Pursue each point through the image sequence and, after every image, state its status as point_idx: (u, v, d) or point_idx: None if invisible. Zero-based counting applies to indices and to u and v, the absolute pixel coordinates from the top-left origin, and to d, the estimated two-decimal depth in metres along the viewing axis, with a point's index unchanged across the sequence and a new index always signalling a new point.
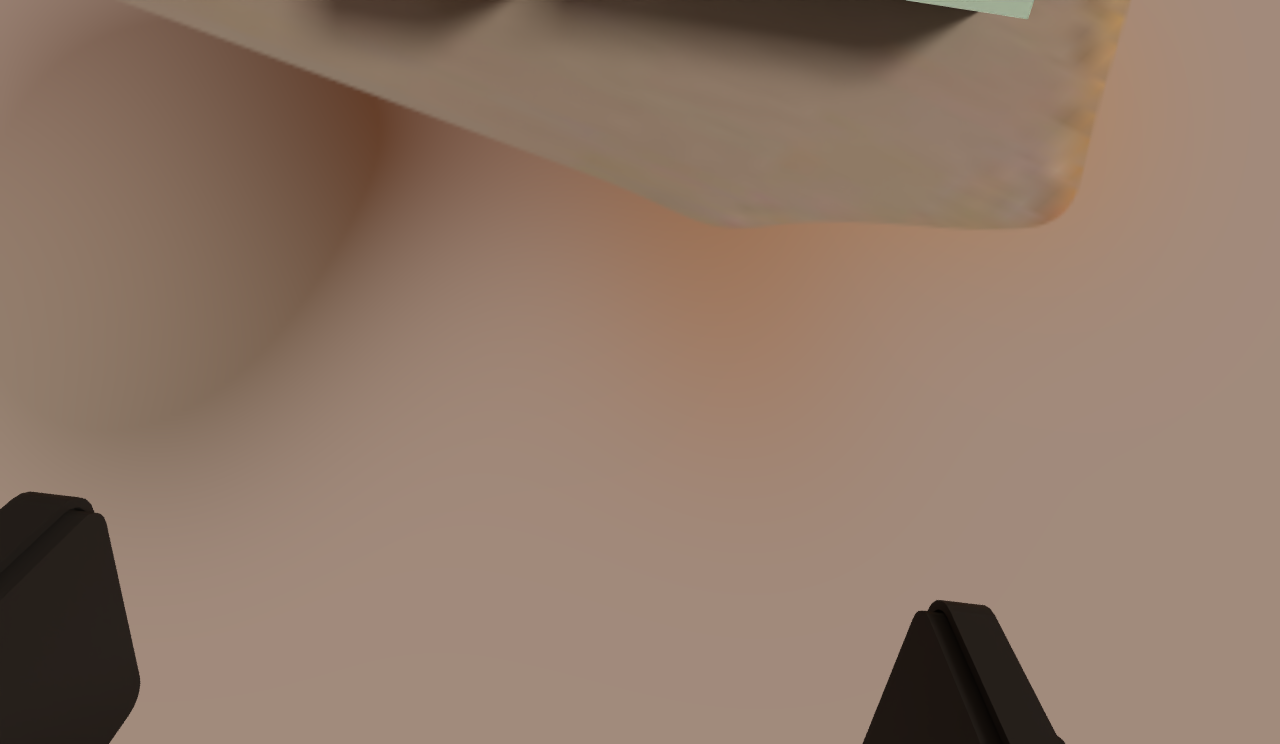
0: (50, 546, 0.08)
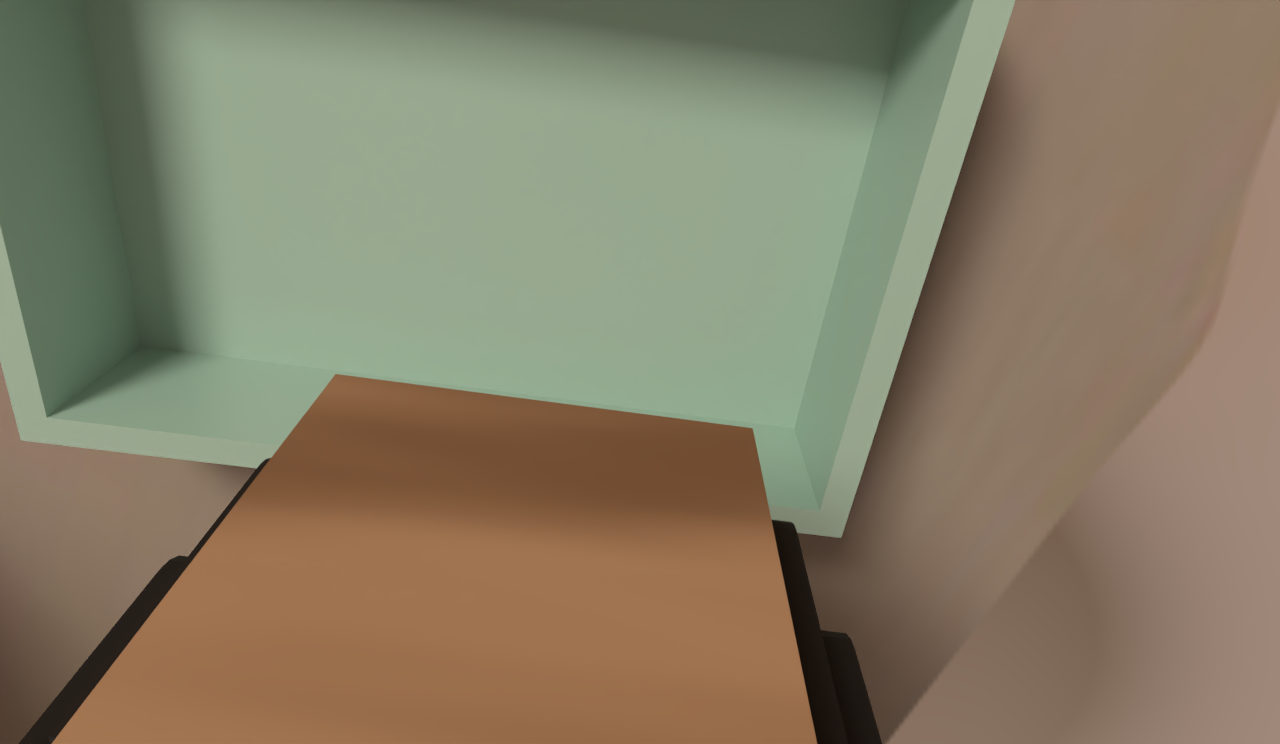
0: None
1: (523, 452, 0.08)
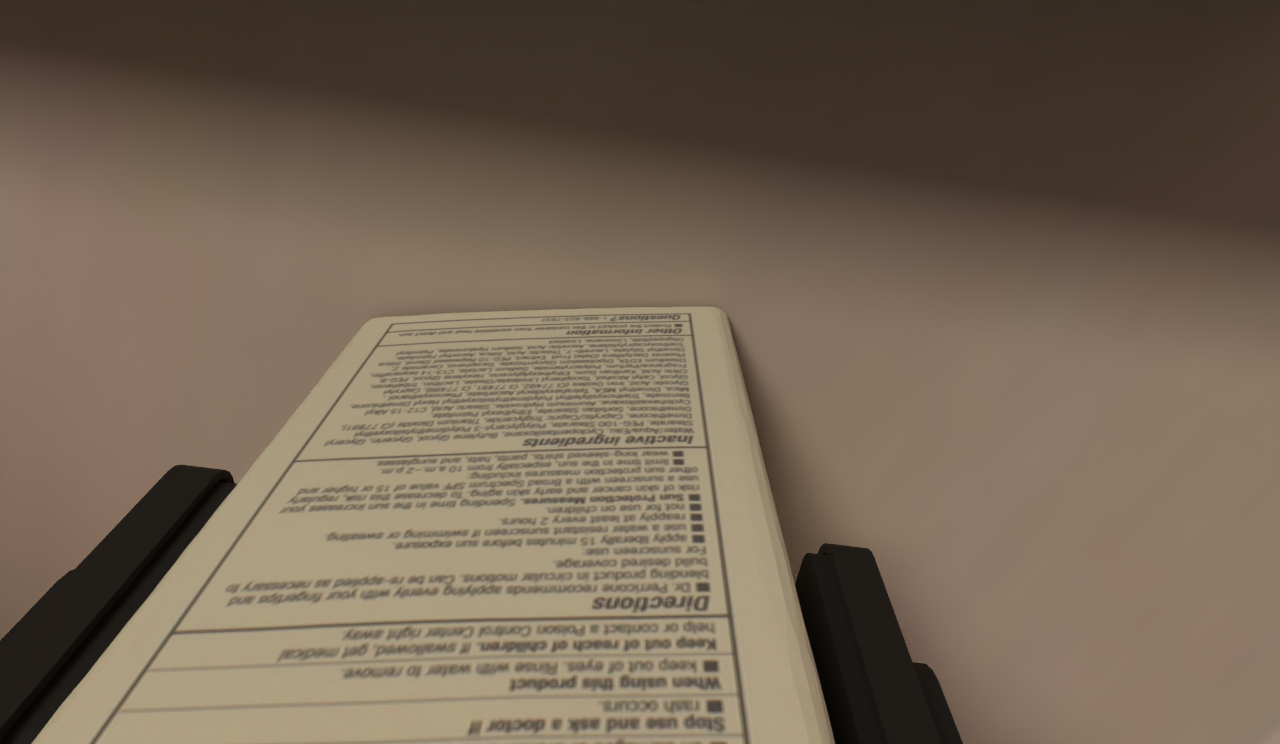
0: (209, 513, 0.08)
1: None
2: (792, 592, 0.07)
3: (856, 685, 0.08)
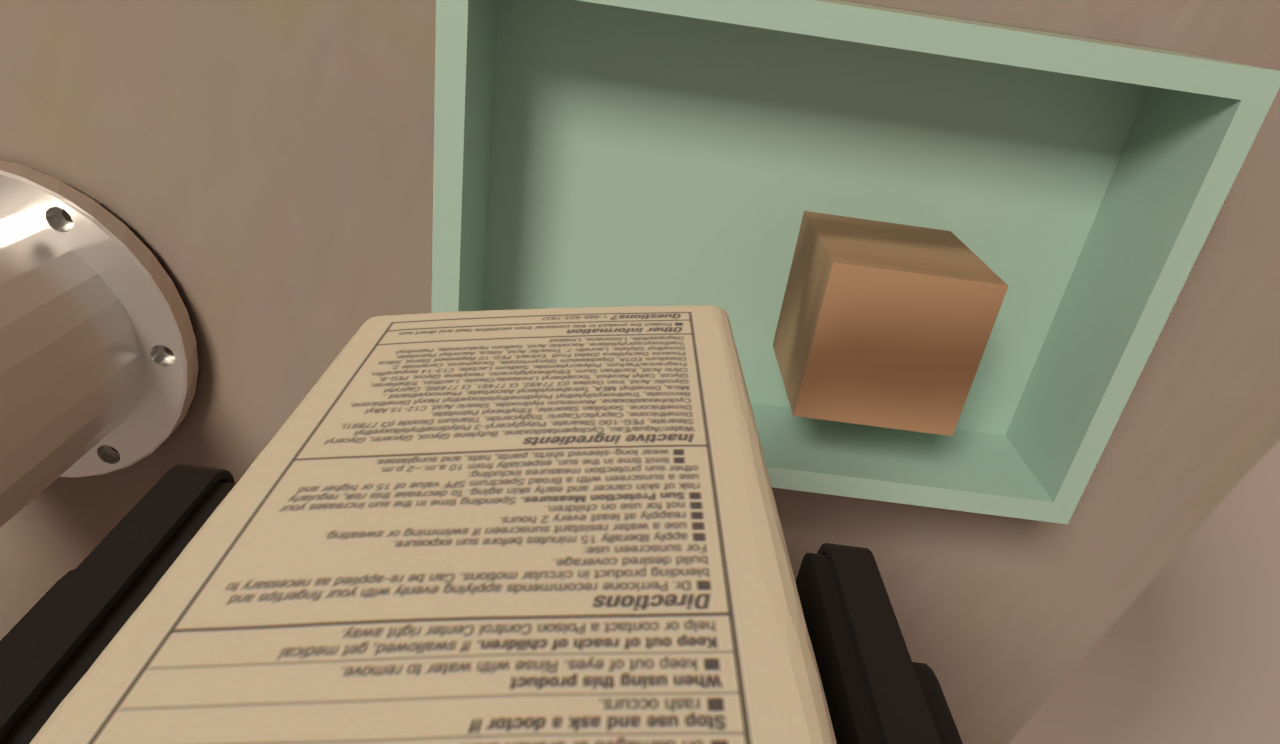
0: (209, 513, 0.08)
1: (882, 230, 0.26)
2: (793, 591, 0.07)
3: (856, 685, 0.08)
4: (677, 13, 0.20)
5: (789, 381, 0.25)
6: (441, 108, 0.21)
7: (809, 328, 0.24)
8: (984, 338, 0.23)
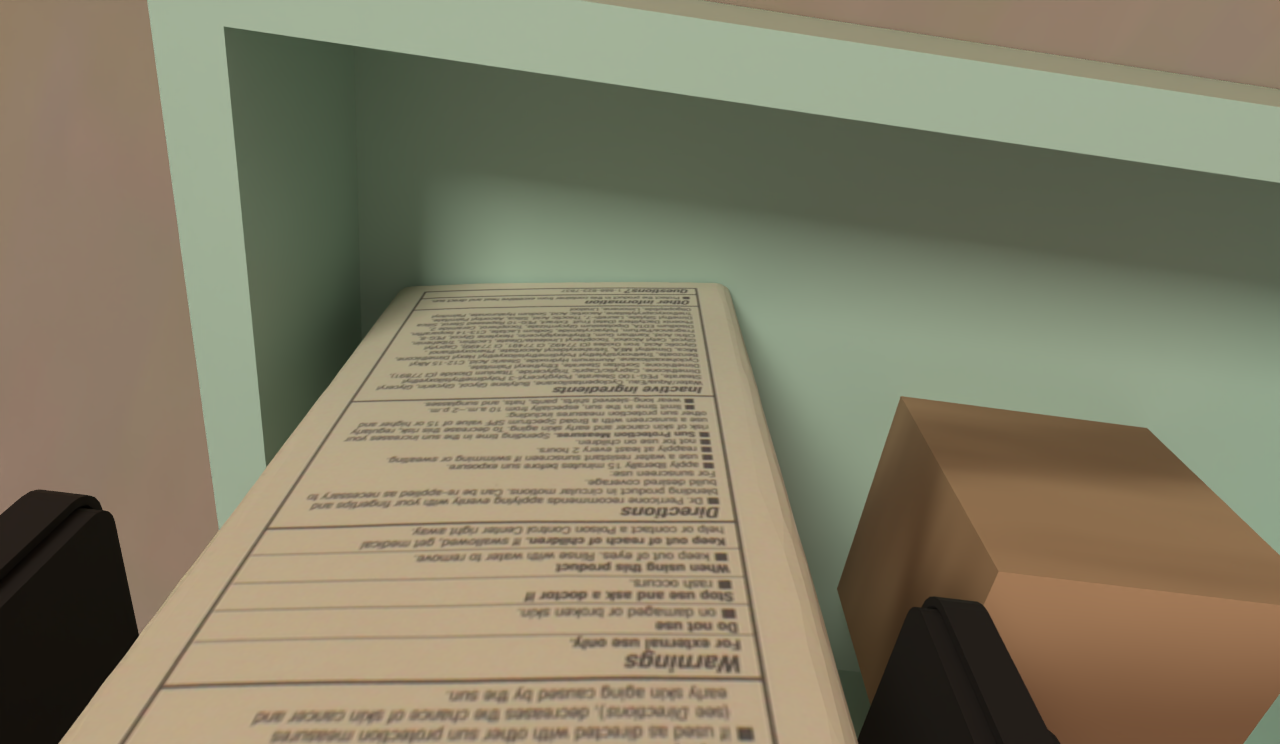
0: (59, 543, 0.08)
1: (1044, 442, 0.15)
2: (787, 506, 0.08)
3: None
4: (693, 92, 0.09)
5: None
6: (199, 279, 0.10)
7: None
8: (1272, 691, 0.12)
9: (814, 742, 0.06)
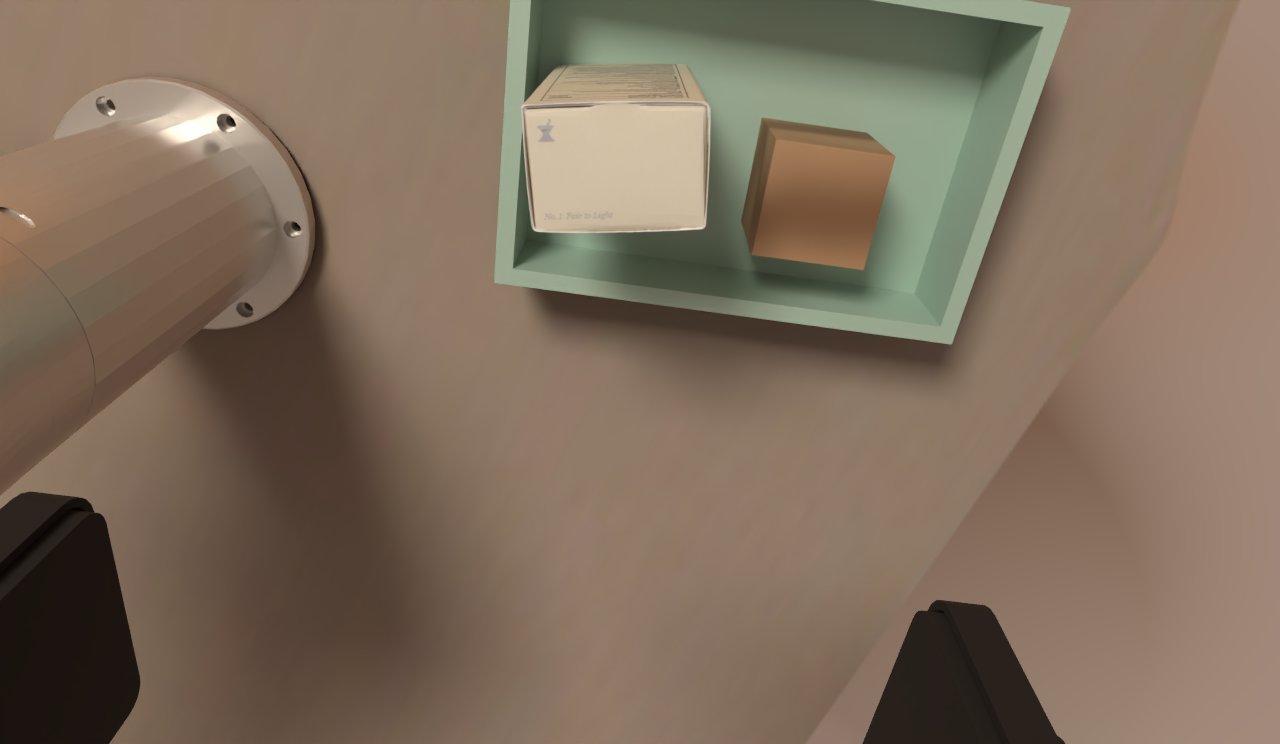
0: (50, 546, 0.08)
1: (816, 129, 0.36)
2: (697, 83, 0.30)
3: None
4: None
5: (750, 235, 0.36)
6: (513, 32, 0.32)
7: (762, 191, 0.34)
8: (881, 195, 0.34)
9: (694, 92, 0.27)
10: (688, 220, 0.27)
